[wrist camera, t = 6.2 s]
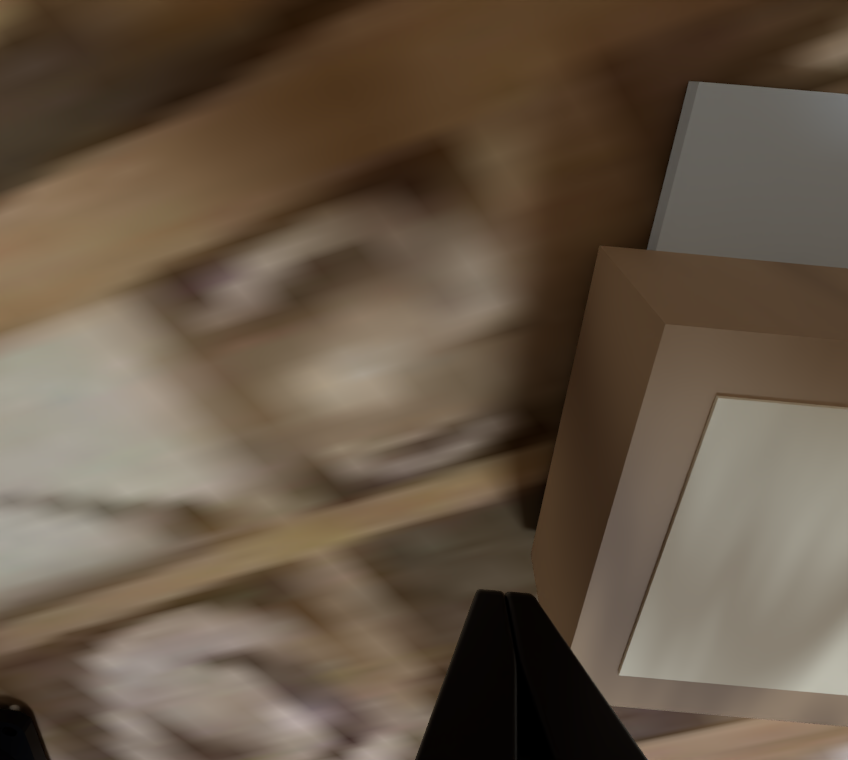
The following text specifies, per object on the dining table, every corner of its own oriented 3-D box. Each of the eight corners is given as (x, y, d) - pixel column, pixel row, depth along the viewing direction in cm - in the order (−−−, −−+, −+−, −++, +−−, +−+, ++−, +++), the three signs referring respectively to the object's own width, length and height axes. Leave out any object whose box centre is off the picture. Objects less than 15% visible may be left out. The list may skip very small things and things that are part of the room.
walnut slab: (531, 554, 15) (880, 585, 15) (556, 704, 12) (1011, 744, 12) (599, 245, 12) (1059, 287, 12) (667, 326, 8) (1332, 387, 8)
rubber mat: (900, 653, 17) (911, 669, 17) (552, 625, 17) (555, 640, 17) (1245, 128, 11) (1280, 130, 10) (688, 80, 11) (698, 81, 10)
